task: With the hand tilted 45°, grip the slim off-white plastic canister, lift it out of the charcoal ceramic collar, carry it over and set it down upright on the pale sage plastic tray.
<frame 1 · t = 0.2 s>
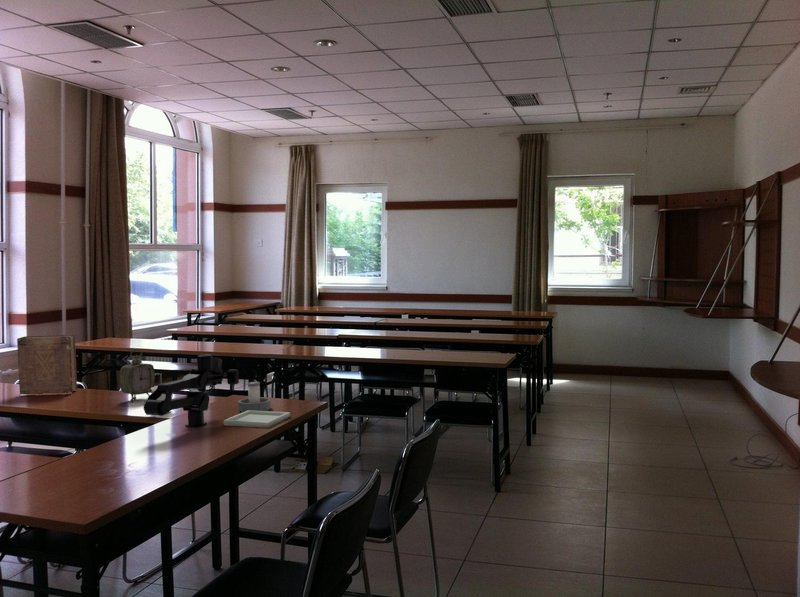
hand: (228, 375, 309), 17 cm above the table, tool horizontal, fingers open, 9 cm apart
supplement box: (197, 405, 329), on the table
collar: (254, 409, 316), on the table
tray: (257, 420, 292), on the table
tabletop clock: (137, 400, 343), on the table
canister: (254, 396, 316), in the collar
book: (49, 394, 364), on the table
cup: (163, 412, 314), on the table
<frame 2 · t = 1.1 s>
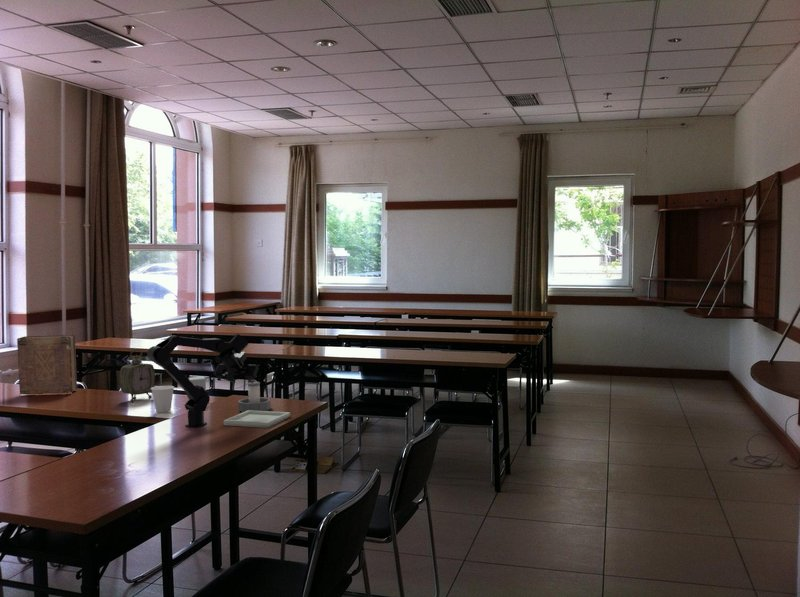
hand: (243, 382, 307), 14 cm above the table, tool tilted 45°, fingers open, 9 cm apart
nothing on the table moved.
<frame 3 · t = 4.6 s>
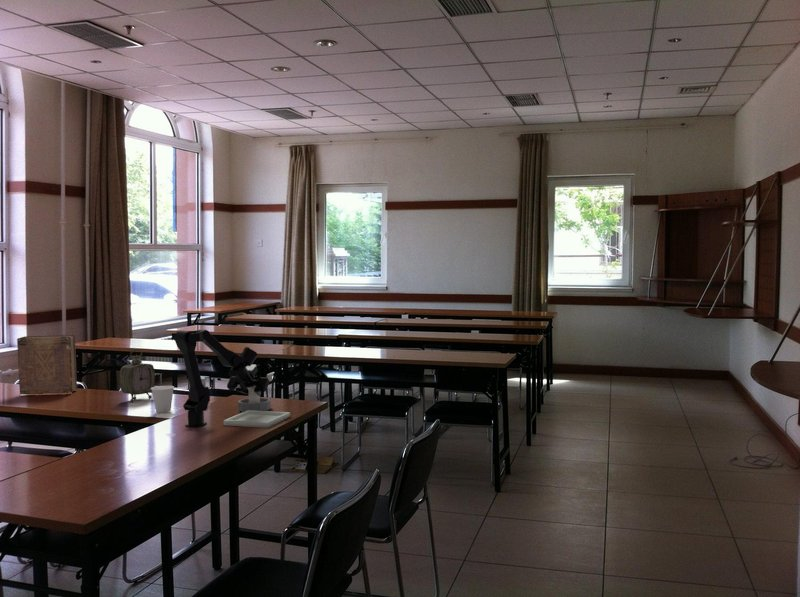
hand: (255, 394, 316), 7 cm above the table, tool tilted 45°, fingers closed on canister, 5 cm apart
canister: (254, 396, 316), in the collar, touching gripper
everything else where it was.
when the fingers open (8 cm above the table, at t = 10.3 s): canister stays where it is, resting on tray.
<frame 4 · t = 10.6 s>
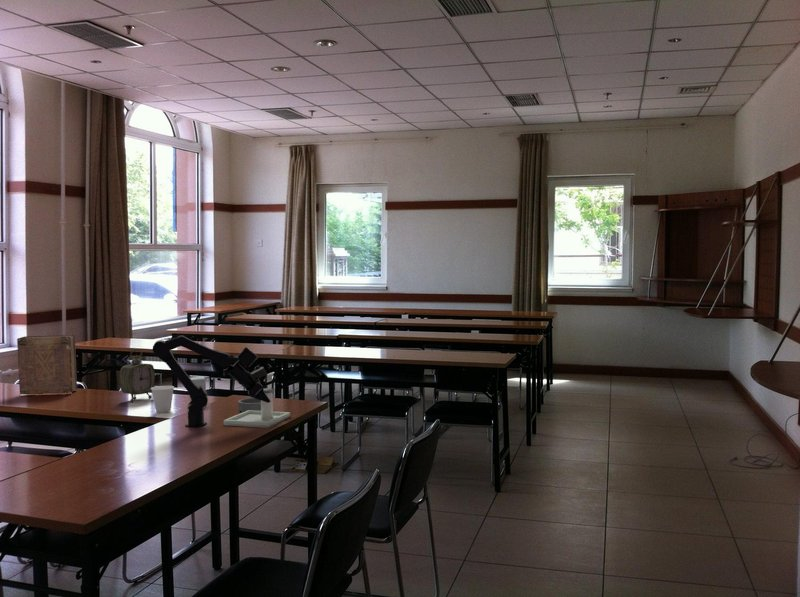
hand: (268, 400, 294), 8 cm above the table, tool tilted 45°, fingers open, 9 cm apart
canister: (266, 403, 294), in the tray, point 7 cm above the table
everything else where it was.
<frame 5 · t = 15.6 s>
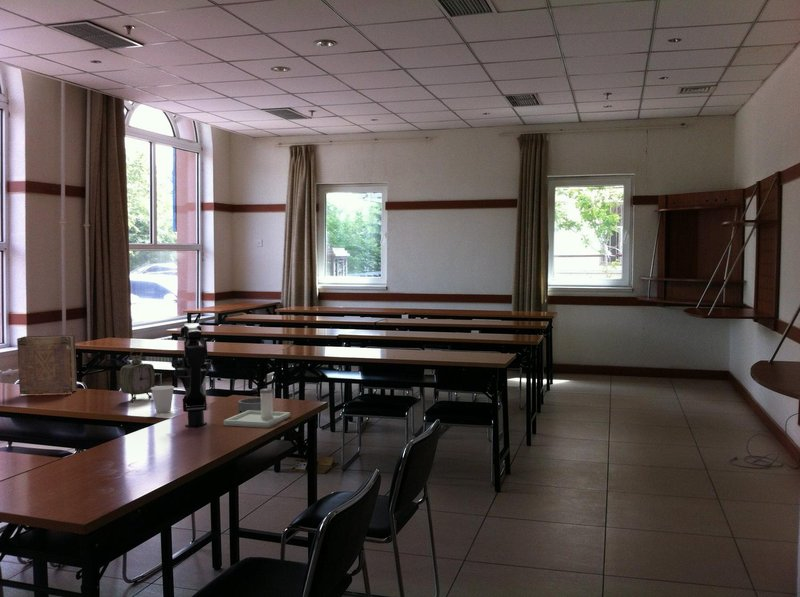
hand: (193, 389, 295), 13 cm above the table, tool pointing down, fingers open, 9 cm apart
nothing on the table moved.
at the end: canister inside the target area on the tray (4.1 cm from its centre), point 6.8 cm above the tray's base; canister tilted 0°; the gripper is holding nothing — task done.
